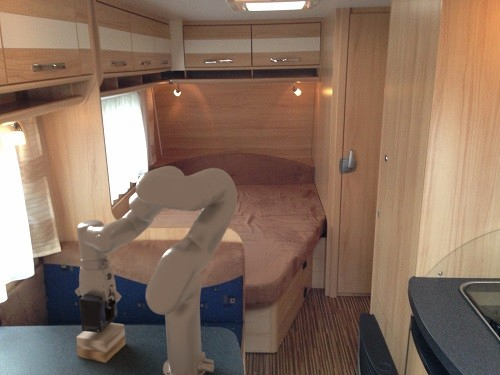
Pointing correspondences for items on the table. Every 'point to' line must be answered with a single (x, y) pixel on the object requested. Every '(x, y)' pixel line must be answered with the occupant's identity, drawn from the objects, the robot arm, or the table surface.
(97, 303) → the small box
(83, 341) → the ash slab
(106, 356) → the oak slab
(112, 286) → the robot arm
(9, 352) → the table surface
